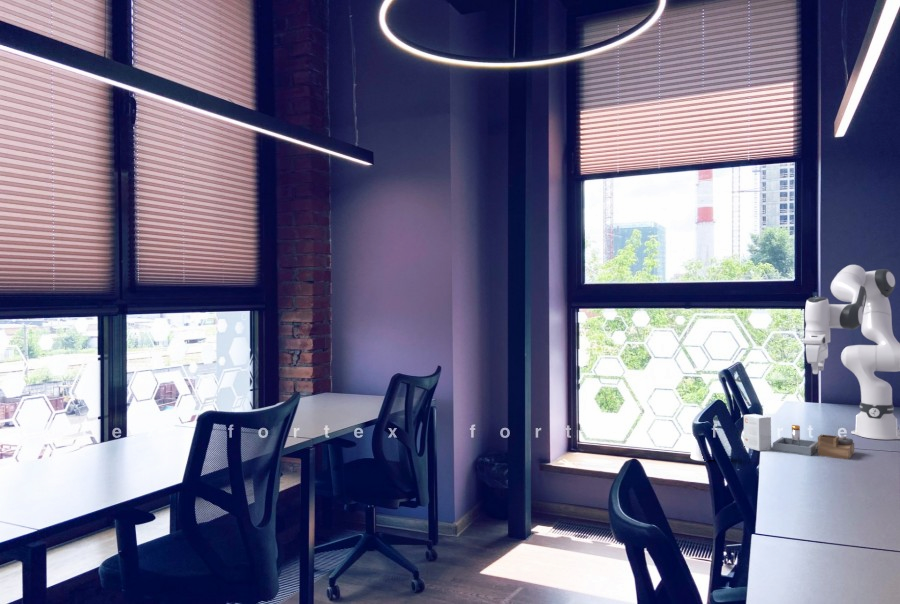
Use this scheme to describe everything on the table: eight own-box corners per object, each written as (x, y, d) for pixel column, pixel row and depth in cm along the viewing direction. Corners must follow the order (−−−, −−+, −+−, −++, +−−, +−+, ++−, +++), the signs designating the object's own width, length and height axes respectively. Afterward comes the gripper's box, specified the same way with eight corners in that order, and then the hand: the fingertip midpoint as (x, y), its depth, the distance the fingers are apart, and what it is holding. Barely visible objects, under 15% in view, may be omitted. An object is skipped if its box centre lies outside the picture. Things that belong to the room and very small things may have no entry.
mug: (709, 464, 236) (709, 431, 236) (685, 461, 241) (685, 429, 240) (717, 457, 245) (716, 426, 245) (693, 454, 250) (693, 423, 250)
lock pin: (793, 447, 257) (792, 424, 257) (800, 448, 256) (800, 425, 256) (791, 448, 255) (790, 425, 255) (799, 449, 254) (798, 426, 253)
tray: (782, 444, 265) (782, 437, 265) (818, 449, 256) (818, 441, 256) (773, 450, 255) (772, 442, 255) (810, 455, 246) (810, 447, 246)
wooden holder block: (824, 449, 256) (824, 431, 256) (854, 453, 249) (854, 435, 249) (817, 455, 247) (817, 437, 247) (848, 459, 240) (848, 440, 240)
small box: (771, 449, 256) (771, 417, 256) (759, 451, 254) (758, 418, 254) (755, 445, 264) (755, 413, 264) (743, 447, 262) (743, 414, 262)
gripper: (814, 334, 269) (815, 368, 270) (802, 340, 254) (803, 375, 254) (832, 335, 265) (832, 369, 266) (821, 340, 249) (821, 376, 250)
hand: (818, 372), depth 260 cm, fingers open, 8 cm apart
